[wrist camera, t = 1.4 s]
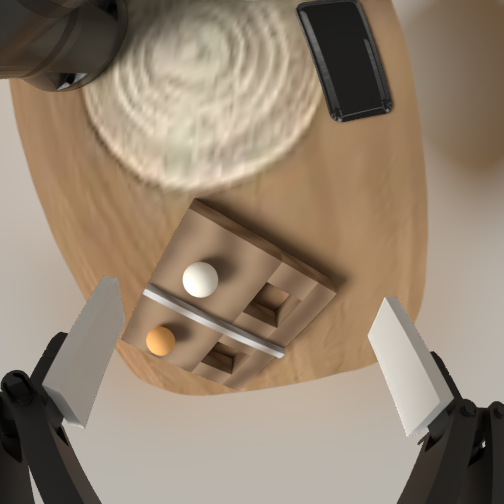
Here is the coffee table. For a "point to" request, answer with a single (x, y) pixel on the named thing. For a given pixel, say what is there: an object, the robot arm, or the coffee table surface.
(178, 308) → the putting board
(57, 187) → the coffee table surface
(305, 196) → the coffee table surface
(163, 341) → the orange ball
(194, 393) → the coffee table surface
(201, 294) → the cream ball
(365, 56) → the phone
